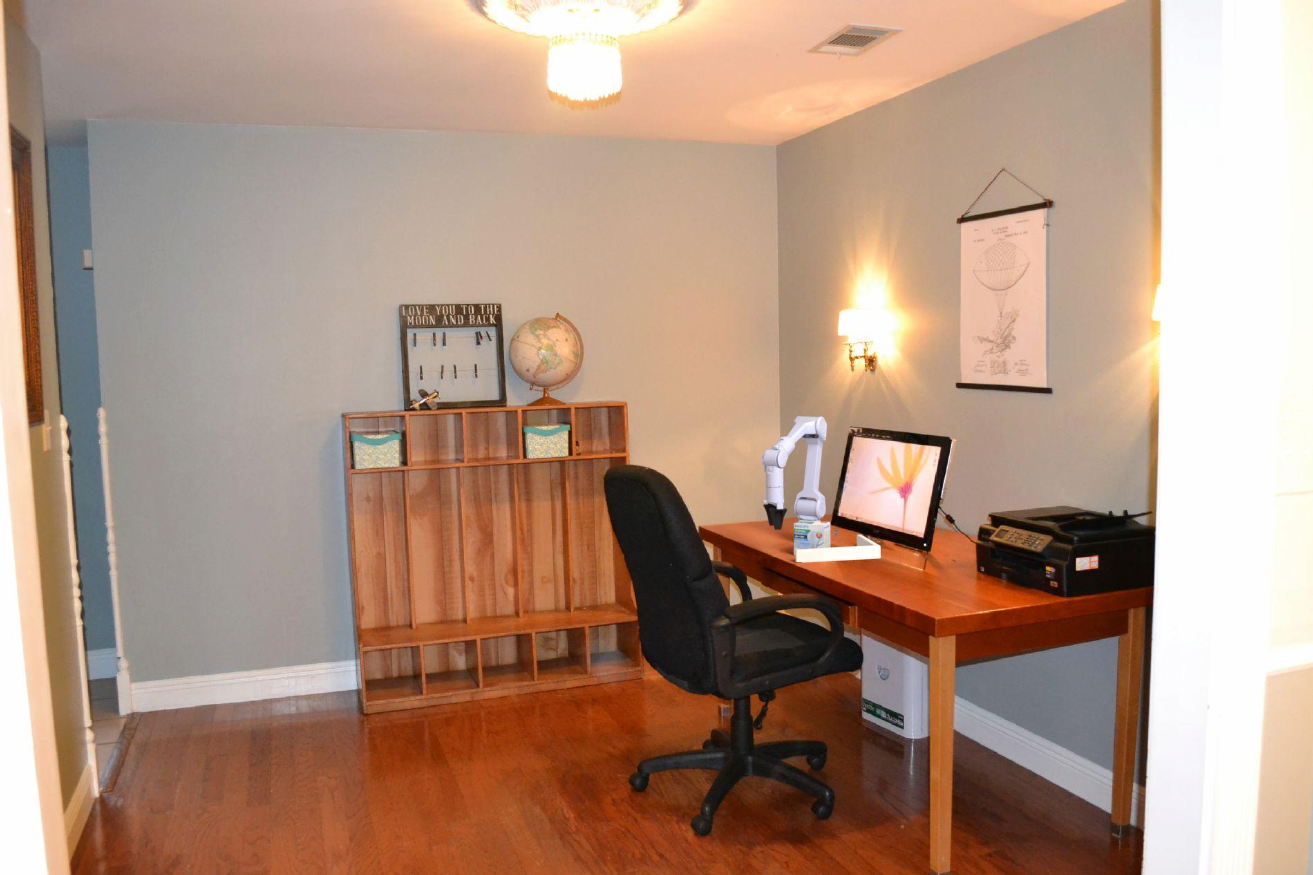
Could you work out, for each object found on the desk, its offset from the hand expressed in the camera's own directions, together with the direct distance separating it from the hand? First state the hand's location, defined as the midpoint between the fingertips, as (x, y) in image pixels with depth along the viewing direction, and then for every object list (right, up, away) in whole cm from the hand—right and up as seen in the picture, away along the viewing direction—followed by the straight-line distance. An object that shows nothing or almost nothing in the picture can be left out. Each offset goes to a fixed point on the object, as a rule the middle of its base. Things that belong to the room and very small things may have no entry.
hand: (775, 527), depth 330 cm
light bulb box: (+12, -9, +1) cm, 15 cm away
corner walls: (+18, -9, +1) cm, 20 cm away
